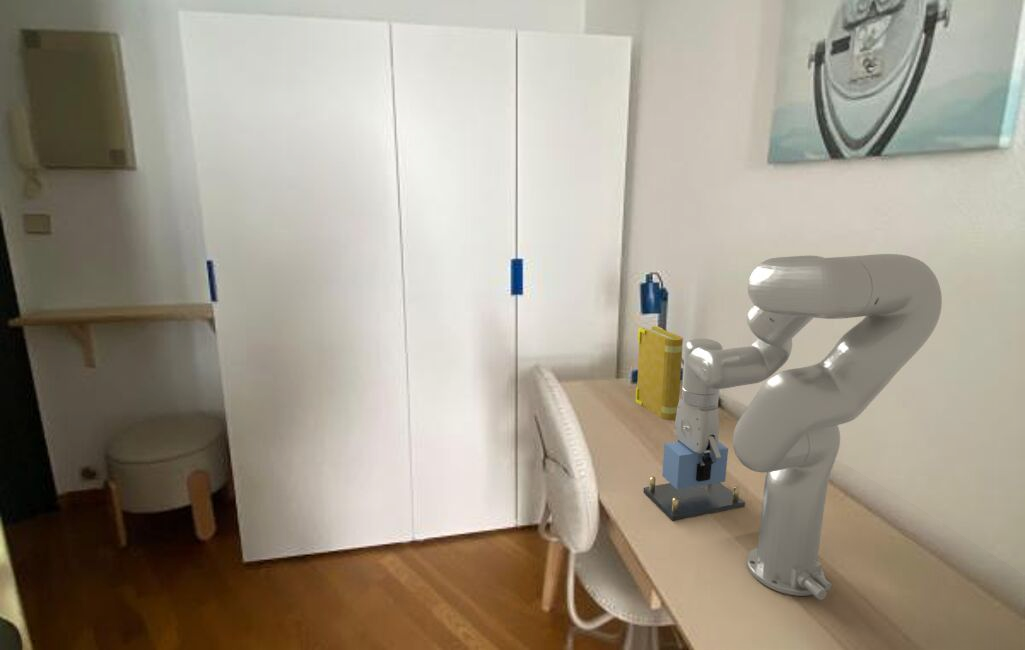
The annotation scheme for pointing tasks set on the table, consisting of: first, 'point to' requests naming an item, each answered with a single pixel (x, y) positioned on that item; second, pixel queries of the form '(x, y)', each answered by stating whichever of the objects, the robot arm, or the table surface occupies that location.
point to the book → (659, 371)
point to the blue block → (690, 466)
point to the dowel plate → (693, 499)
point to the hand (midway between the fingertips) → (693, 471)
